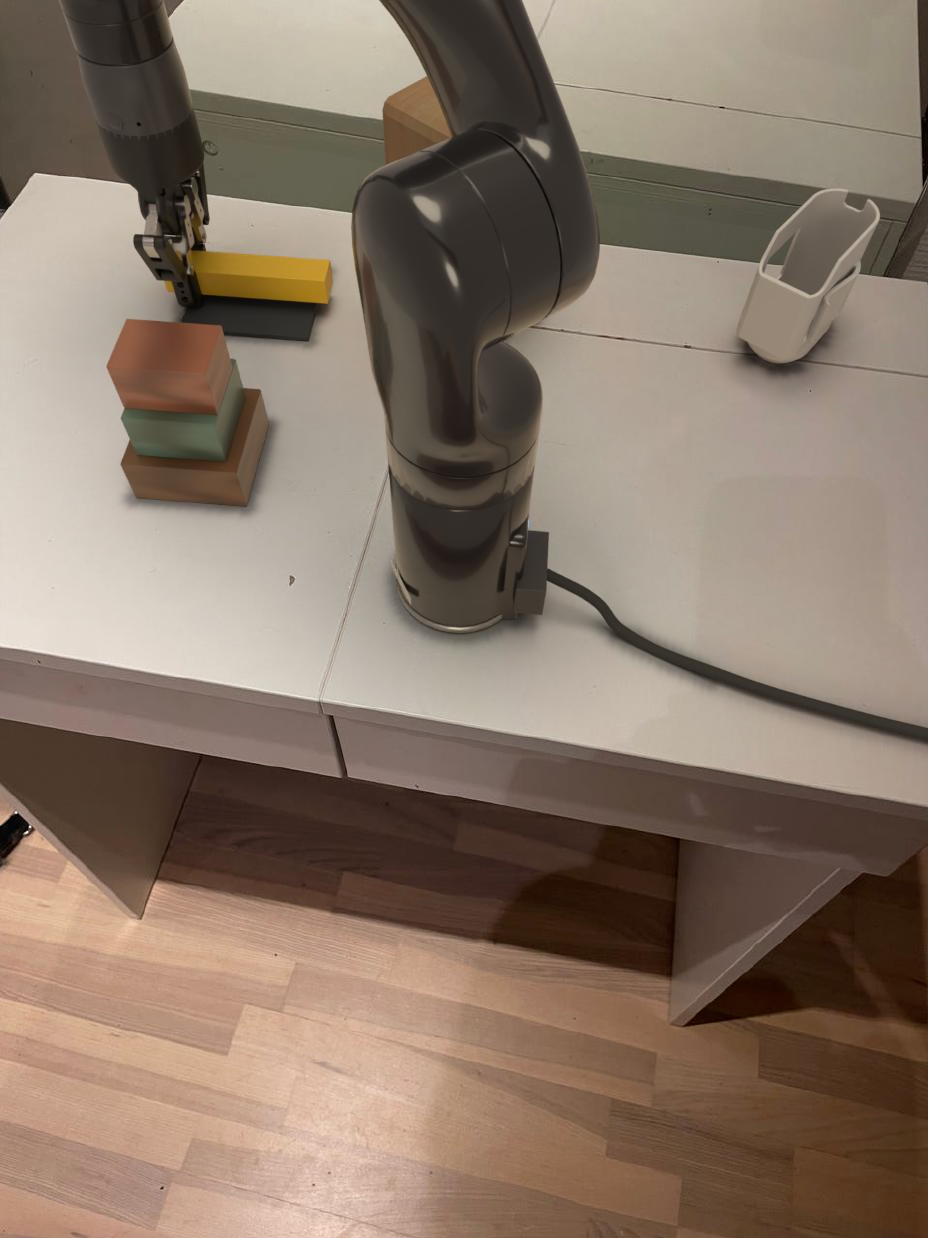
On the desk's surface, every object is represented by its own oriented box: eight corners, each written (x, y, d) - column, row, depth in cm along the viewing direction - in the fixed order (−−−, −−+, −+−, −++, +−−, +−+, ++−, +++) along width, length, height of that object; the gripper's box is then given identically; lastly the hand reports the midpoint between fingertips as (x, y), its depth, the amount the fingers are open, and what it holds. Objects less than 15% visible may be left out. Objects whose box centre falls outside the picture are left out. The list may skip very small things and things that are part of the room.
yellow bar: (333, 282, 82) (330, 259, 80) (327, 303, 80) (324, 280, 78) (175, 271, 82) (168, 247, 80) (167, 292, 81) (159, 268, 79)
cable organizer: (719, 361, 79) (760, 244, 69) (785, 293, 84) (832, 174, 74) (784, 395, 77) (836, 280, 67) (848, 323, 82) (905, 206, 72)
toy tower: (269, 423, 74) (241, 307, 64) (246, 506, 70) (212, 395, 59) (165, 416, 75) (120, 299, 64) (135, 497, 70) (82, 385, 60)
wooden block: (390, 316, 82) (376, 95, 65) (462, 267, 86) (467, 46, 69) (468, 368, 78) (475, 150, 61) (540, 314, 82) (565, 95, 65)
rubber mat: (326, 270, 85) (326, 267, 85) (308, 341, 80) (308, 337, 79) (205, 262, 85) (204, 258, 85) (179, 331, 80) (178, 327, 80)
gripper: (166, 160, 64) (218, 346, 78) (211, 60, 71) (251, 248, 86) (65, 153, 64) (136, 340, 79) (121, 55, 71) (176, 242, 86)
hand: (196, 291), depth 82 cm, fingers closed on yellow bar, 3 cm apart
